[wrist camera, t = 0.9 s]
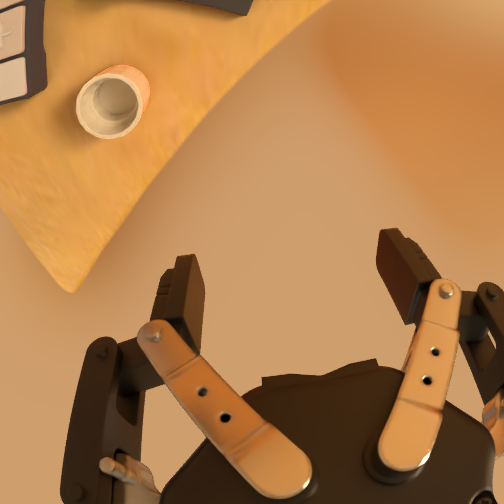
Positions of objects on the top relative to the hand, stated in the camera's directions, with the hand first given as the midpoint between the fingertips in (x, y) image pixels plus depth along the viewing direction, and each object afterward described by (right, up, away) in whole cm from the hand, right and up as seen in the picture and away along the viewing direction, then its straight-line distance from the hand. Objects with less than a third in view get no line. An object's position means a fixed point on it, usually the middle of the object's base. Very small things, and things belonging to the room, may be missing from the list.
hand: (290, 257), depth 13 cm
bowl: (-14, +15, +11) cm, 24 cm away
